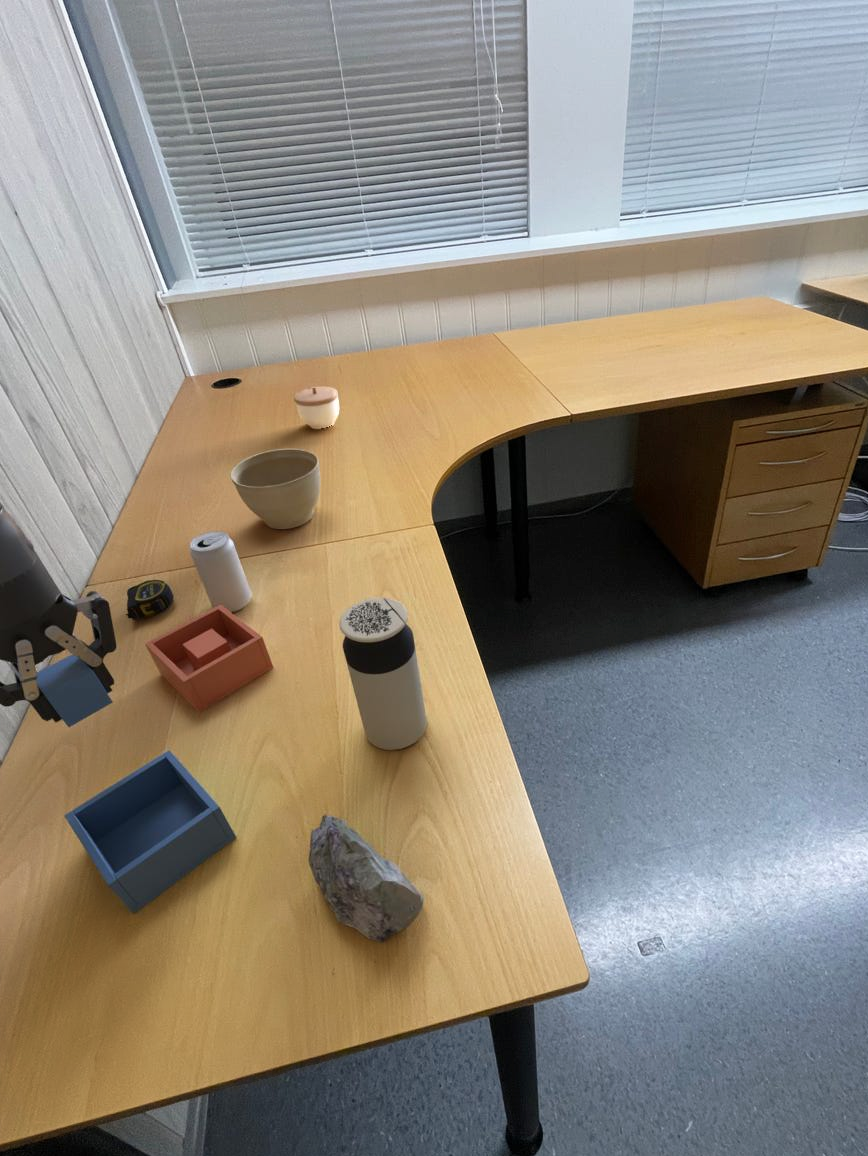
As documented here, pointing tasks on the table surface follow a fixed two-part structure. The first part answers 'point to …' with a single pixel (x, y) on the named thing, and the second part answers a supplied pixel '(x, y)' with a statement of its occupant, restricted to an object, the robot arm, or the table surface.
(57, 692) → the blue block
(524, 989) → the table surface
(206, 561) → the beverage can
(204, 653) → the terracotta block
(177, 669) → the terracotta bin
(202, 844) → the blue bin
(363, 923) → the mineral rock
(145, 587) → the tape measure
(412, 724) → the travel mug
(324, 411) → the trinket box
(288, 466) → the planter bowl
